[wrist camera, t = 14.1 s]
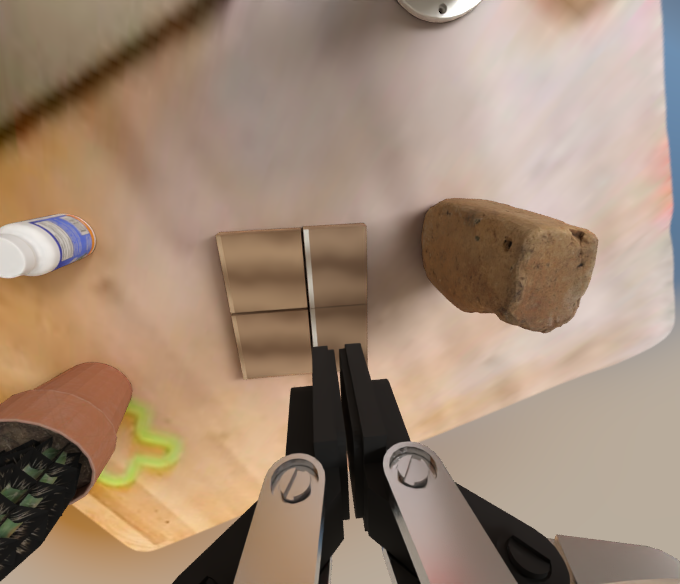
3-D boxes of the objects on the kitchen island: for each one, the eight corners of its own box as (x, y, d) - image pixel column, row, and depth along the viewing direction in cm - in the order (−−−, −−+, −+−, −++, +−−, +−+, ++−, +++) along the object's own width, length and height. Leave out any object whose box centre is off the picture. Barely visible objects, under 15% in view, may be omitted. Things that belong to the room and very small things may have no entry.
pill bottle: (56, 257, 38) (-21, 287, 29) (40, 212, 36) (-48, 229, 27) (103, 257, 39) (42, 285, 30) (90, 212, 37) (20, 228, 28)
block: (426, 192, 39) (530, 219, 21) (482, 197, 40) (629, 227, 22) (411, 273, 43) (487, 356, 25) (462, 276, 44) (571, 358, 26)
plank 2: (234, 309, 43) (230, 316, 41) (307, 304, 44) (307, 310, 42) (245, 371, 47) (243, 379, 45) (313, 365, 48) (313, 373, 46)
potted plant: (58, 331, 42) (-243, 539, 19) (162, 368, 46) (14, 580, 23) (37, 405, 46) (-234, 649, 23) (134, 433, 50) (-16, 669, 27)
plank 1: (219, 232, 39) (215, 235, 37) (300, 227, 40) (300, 230, 38) (233, 306, 43) (230, 313, 41) (307, 301, 43) (307, 307, 42)
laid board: (303, 226, 40) (302, 229, 38) (363, 222, 40) (366, 226, 38) (315, 365, 48) (315, 373, 46) (365, 360, 48) (367, 368, 46)
